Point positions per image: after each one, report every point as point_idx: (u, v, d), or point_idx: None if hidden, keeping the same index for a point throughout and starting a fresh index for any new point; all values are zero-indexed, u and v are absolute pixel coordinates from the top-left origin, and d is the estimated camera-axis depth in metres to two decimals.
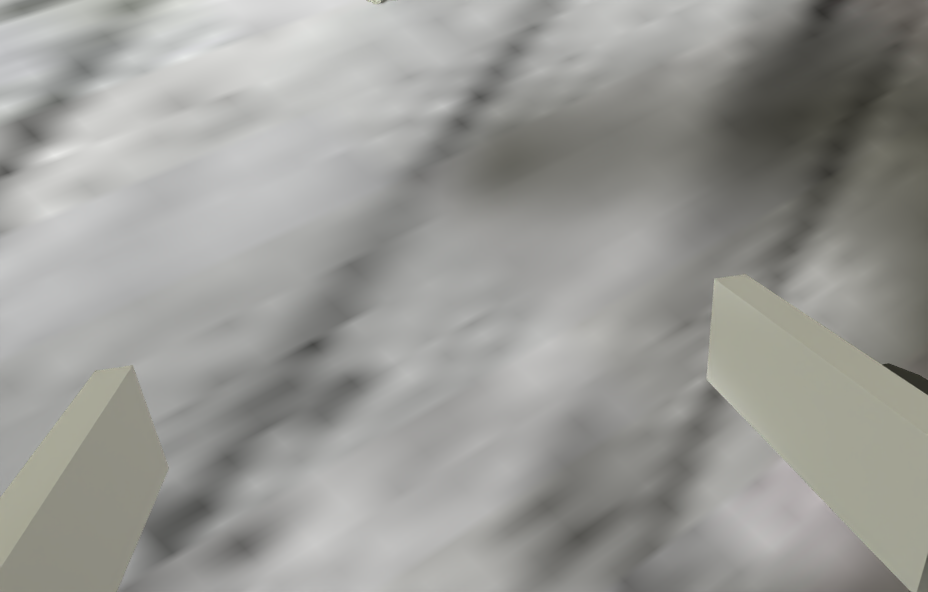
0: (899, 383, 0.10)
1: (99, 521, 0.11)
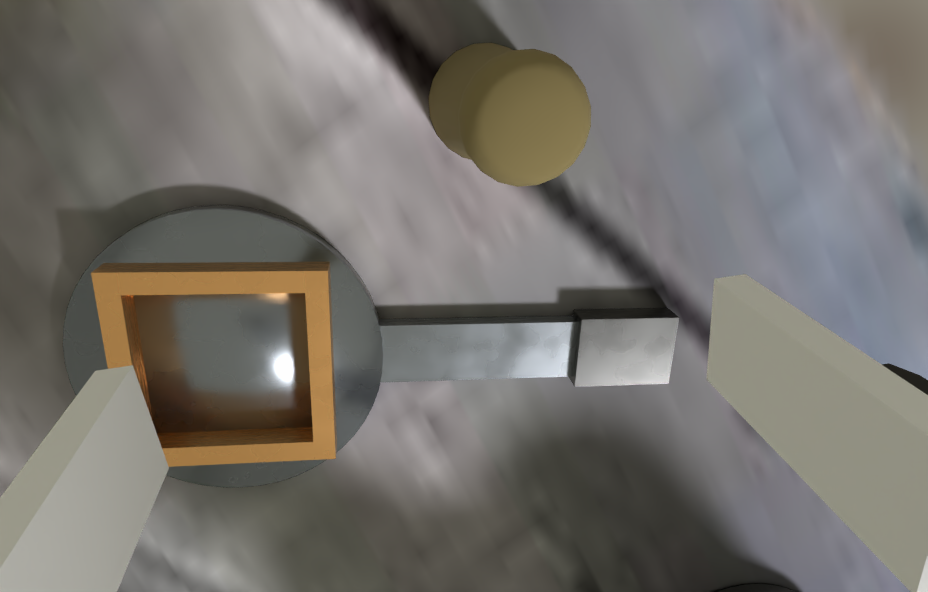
0: (899, 383, 0.10)
1: (99, 521, 0.11)
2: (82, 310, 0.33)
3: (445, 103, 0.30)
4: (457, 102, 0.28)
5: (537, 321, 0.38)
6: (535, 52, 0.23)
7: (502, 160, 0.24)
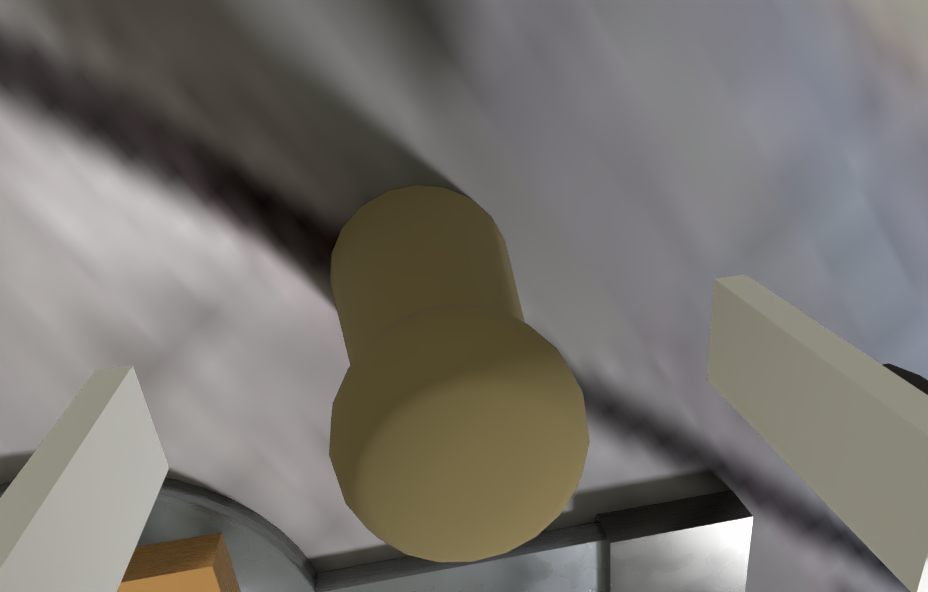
0: (899, 383, 0.10)
1: (99, 521, 0.11)
2: None
3: (341, 327, 0.18)
4: (350, 353, 0.16)
5: (545, 548, 0.26)
6: (456, 341, 0.11)
7: (421, 548, 0.12)
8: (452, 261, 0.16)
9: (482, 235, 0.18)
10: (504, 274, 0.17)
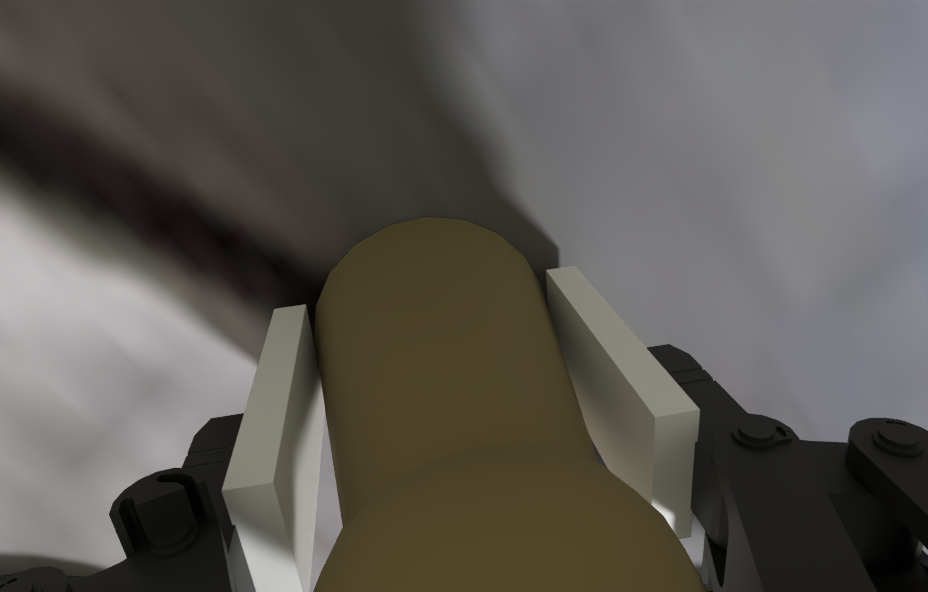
0: (647, 359, 0.12)
1: (307, 425, 0.13)
2: None
3: (327, 421, 0.13)
4: (337, 477, 0.11)
5: None
6: (517, 548, 0.06)
7: None
8: (485, 345, 0.11)
9: (519, 292, 0.13)
10: (554, 353, 0.12)
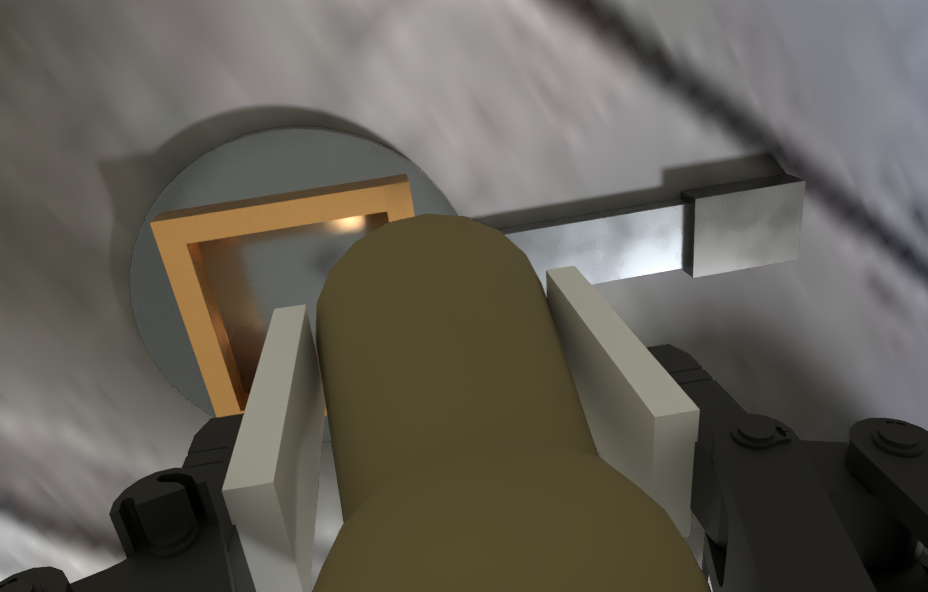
0: (646, 359, 0.12)
1: (307, 425, 0.13)
2: (146, 269, 0.30)
3: None
4: (338, 473, 0.11)
5: (644, 210, 0.33)
6: (518, 541, 0.06)
7: None
8: (486, 341, 0.11)
9: (520, 288, 0.13)
10: (555, 349, 0.12)
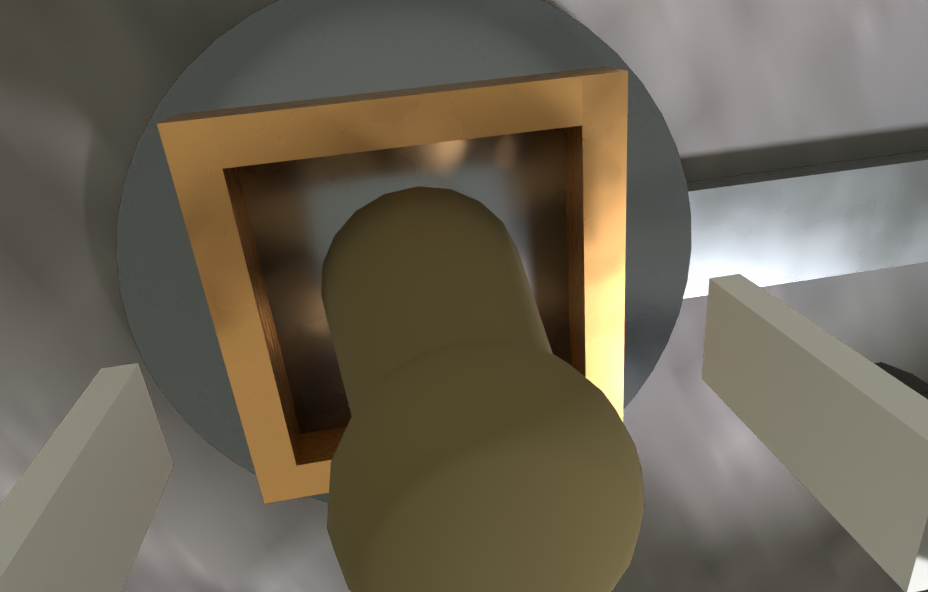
0: (890, 382, 0.10)
1: (106, 517, 0.11)
2: (147, 219, 0.17)
3: (336, 353, 0.15)
4: (347, 389, 0.13)
5: None
6: (488, 393, 0.09)
7: None
8: (467, 279, 0.13)
9: (497, 245, 0.16)
10: (525, 292, 0.15)
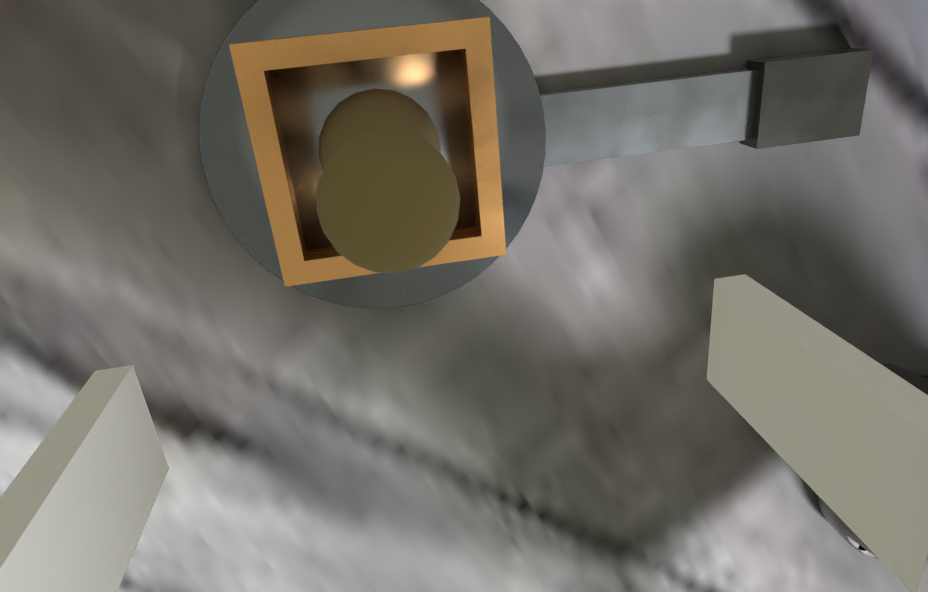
0: (899, 383, 0.10)
1: (99, 521, 0.11)
2: (217, 105, 0.30)
3: None
4: None
5: (712, 74, 0.33)
6: (381, 138, 0.22)
7: (366, 256, 0.22)
8: (390, 121, 0.26)
9: (414, 115, 0.28)
10: (426, 134, 0.27)
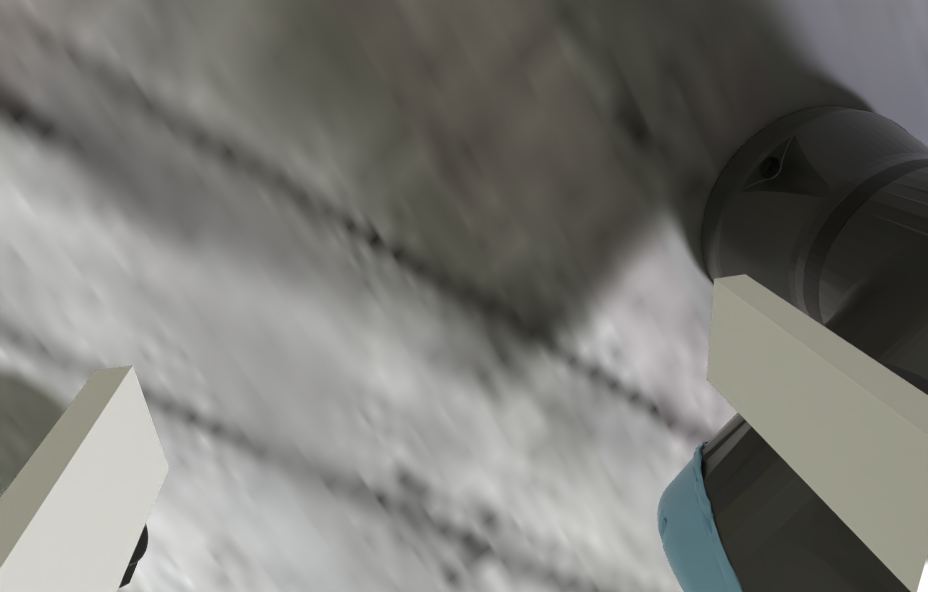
0: (899, 383, 0.10)
1: (99, 521, 0.11)
2: None
3: None
4: None
5: None
6: None
7: None
8: None
9: None
10: None
